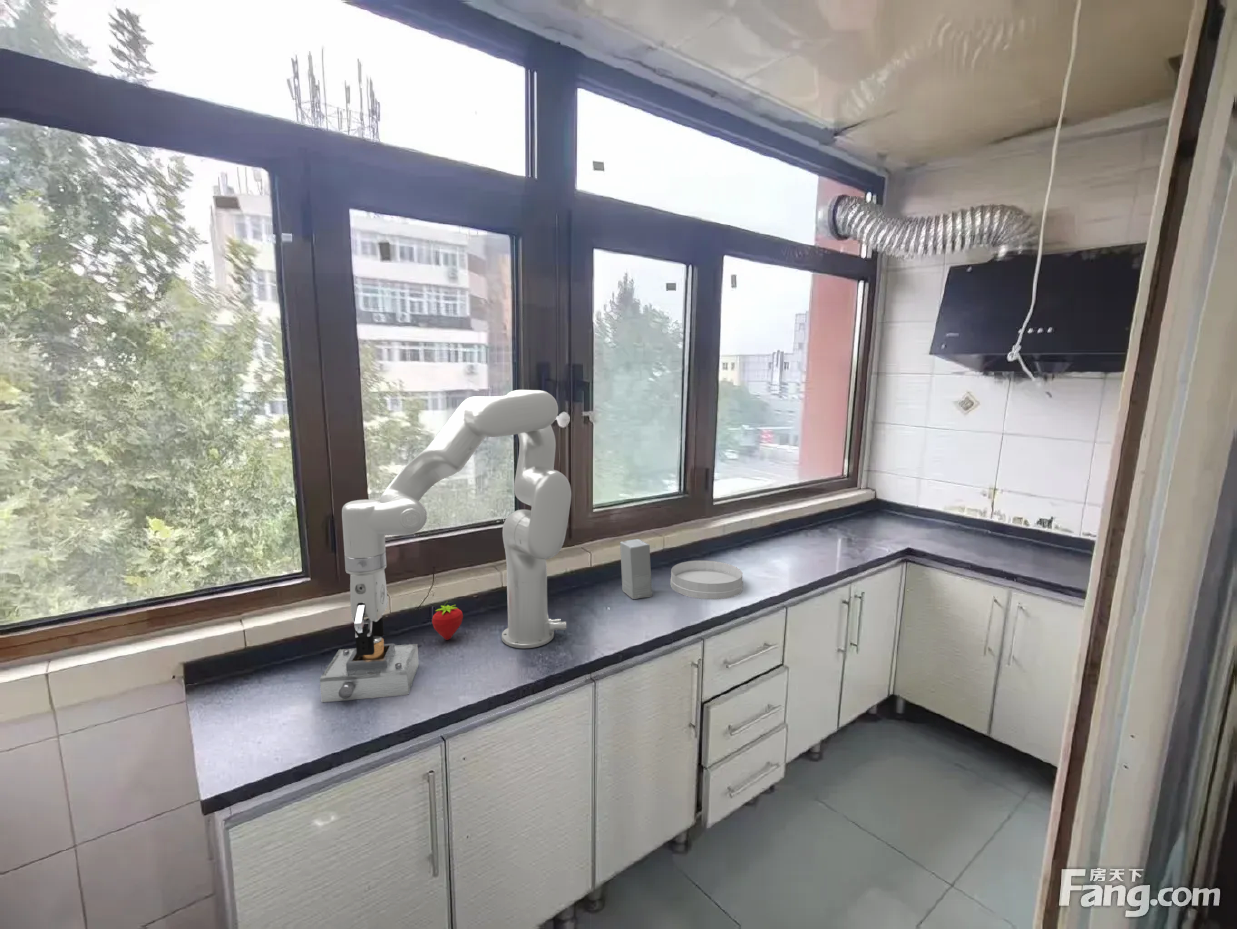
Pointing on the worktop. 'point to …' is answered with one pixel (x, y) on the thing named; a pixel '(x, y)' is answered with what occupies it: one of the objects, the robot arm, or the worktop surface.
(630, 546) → the skincare box
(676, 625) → the worktop surface
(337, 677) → the plate
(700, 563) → the dish
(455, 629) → the strawberry
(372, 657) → the spout can
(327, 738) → the worktop surface
